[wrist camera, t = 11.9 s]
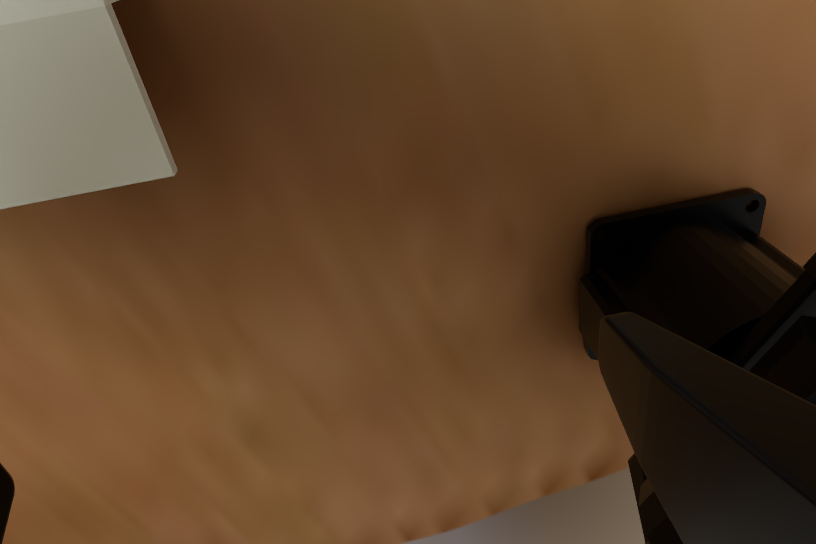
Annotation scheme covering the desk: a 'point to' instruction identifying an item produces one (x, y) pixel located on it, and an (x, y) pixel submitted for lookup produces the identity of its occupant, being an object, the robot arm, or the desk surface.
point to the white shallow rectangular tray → (72, 104)
